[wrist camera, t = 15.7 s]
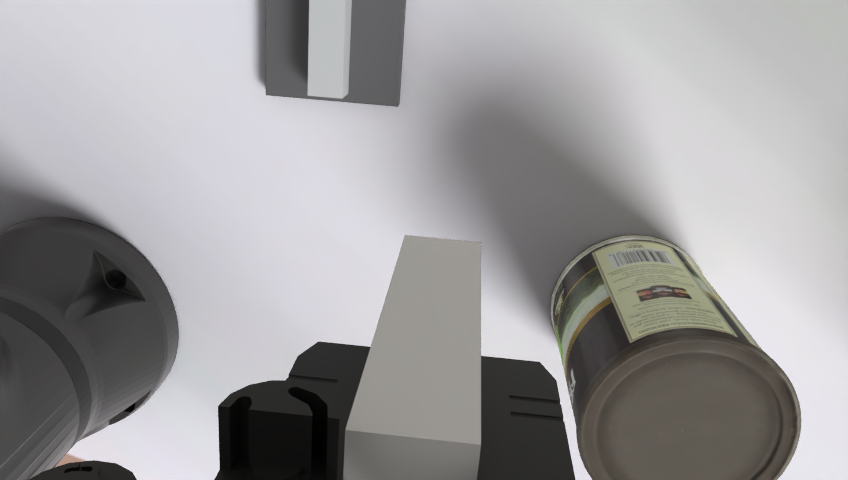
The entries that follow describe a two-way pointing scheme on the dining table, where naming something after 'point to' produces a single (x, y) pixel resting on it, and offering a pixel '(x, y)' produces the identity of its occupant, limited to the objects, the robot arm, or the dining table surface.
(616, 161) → the dining table surface
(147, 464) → the dining table surface
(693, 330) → the coffee can
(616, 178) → the dining table surface
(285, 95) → the rail
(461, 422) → the robot arm
